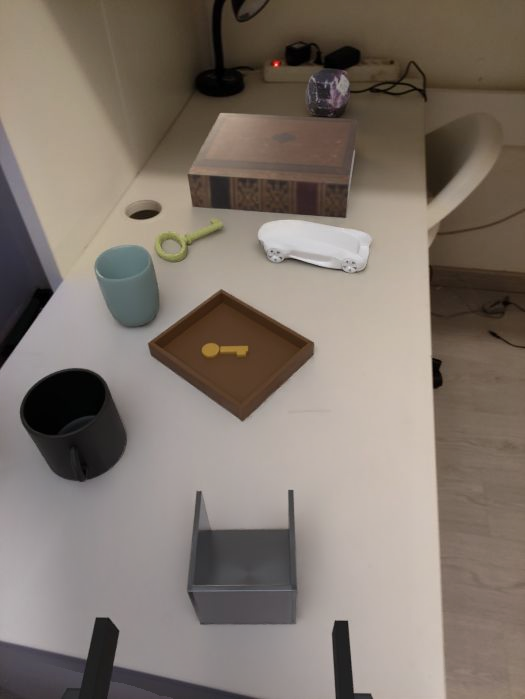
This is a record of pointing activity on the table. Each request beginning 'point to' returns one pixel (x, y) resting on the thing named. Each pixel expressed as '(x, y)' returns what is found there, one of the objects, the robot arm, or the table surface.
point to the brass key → (223, 350)
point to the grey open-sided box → (242, 572)
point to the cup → (128, 284)
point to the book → (275, 165)
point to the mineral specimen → (328, 92)
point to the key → (184, 240)
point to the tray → (227, 369)
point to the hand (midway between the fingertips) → (223, 624)
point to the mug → (74, 423)
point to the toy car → (316, 244)
